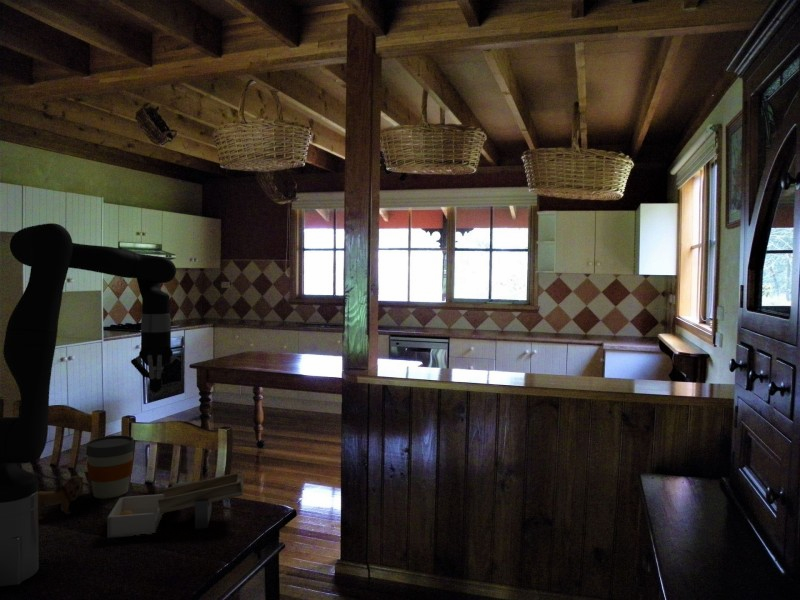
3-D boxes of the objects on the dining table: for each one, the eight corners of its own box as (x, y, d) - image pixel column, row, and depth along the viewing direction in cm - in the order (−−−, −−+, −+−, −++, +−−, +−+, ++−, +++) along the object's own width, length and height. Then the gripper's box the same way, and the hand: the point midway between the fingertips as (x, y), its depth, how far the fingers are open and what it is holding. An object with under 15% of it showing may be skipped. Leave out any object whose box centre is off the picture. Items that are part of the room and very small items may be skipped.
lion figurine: (81, 504, 151) (80, 472, 151) (85, 510, 147) (85, 477, 147) (16, 519, 141) (16, 484, 141) (19, 526, 137) (19, 491, 137)
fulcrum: (207, 528, 138) (207, 500, 138) (194, 529, 137) (195, 501, 137) (211, 509, 149) (211, 484, 149) (200, 510, 148) (200, 484, 148)
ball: (115, 521, 137) (125, 528, 137) (124, 510, 137) (134, 518, 138) (118, 515, 140) (128, 522, 140) (127, 505, 140) (137, 512, 141)
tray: (154, 533, 134) (154, 513, 134) (107, 538, 132) (107, 517, 132) (163, 512, 147) (163, 493, 147) (120, 515, 144) (120, 497, 144)
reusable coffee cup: (90, 487, 163) (90, 437, 163) (136, 482, 168) (136, 433, 167) (82, 503, 152) (81, 449, 151) (132, 497, 156) (132, 445, 155)
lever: (242, 497, 141) (240, 483, 141) (160, 516, 136) (157, 501, 136) (245, 474, 158) (242, 461, 158) (171, 489, 153) (169, 476, 153)
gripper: (126, 331, 146) (126, 395, 147) (179, 331, 149) (179, 394, 150) (133, 328, 154) (133, 390, 154) (183, 328, 157) (183, 388, 157)
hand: (156, 391), depth 152 cm, fingers closed
